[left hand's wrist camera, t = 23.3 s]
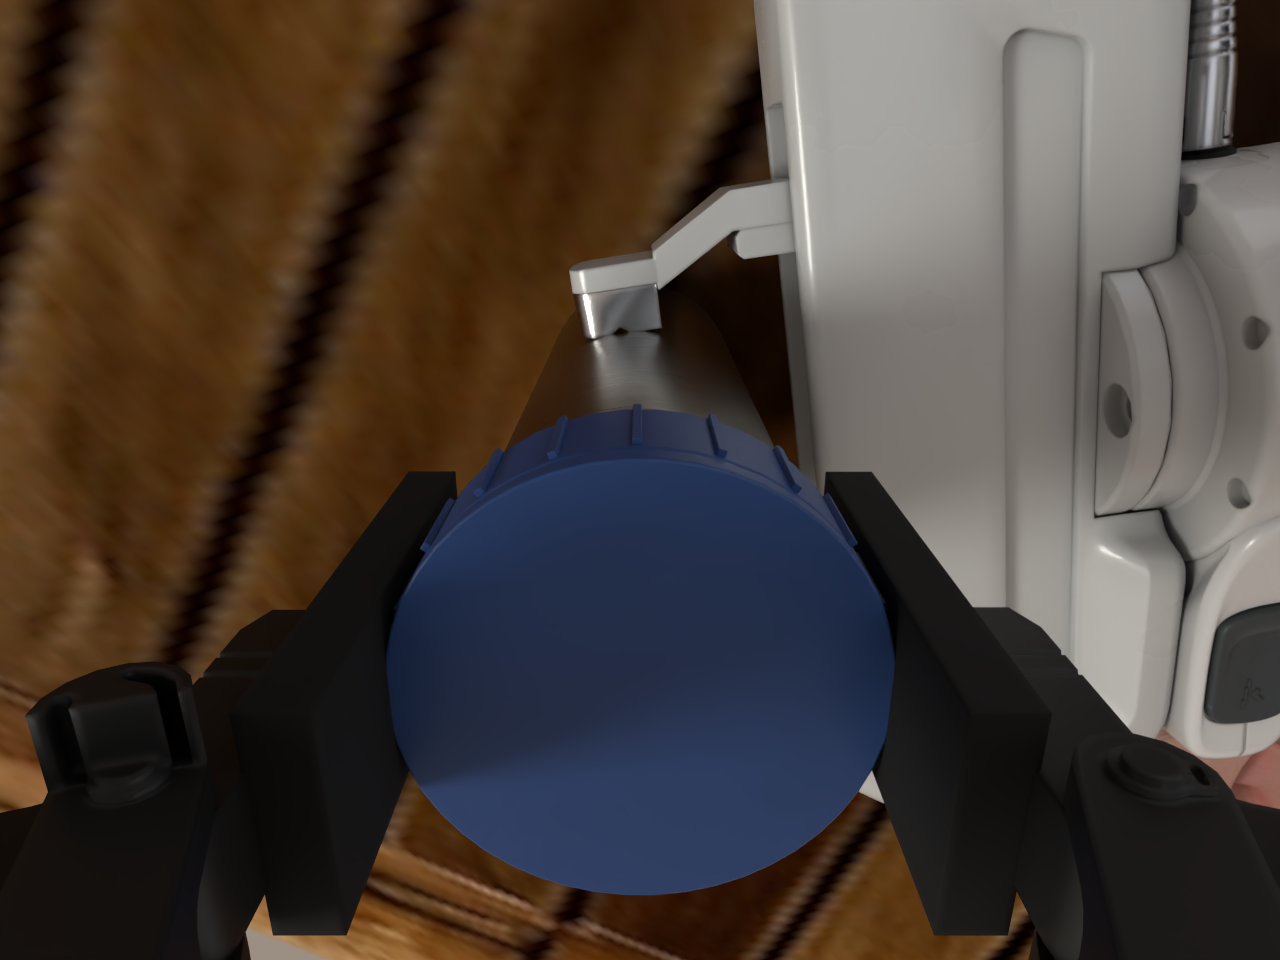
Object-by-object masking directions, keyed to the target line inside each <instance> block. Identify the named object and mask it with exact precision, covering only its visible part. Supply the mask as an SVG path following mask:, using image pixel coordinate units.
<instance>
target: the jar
mask: <svg viewBox="0 0 1280 960" xmlns="http://www.w3.org/2000/svg"><path fill="white" fill-rule="evenodd" d="M657 293H658V301H659V308H660V316H661V324H662V328H658V329H652V330H646V331H634V332H629V331H627V330H625V329H623V328H621V327H619V328H618V329H617V330H616V331H615V332H614V333H613V334H611V335H608V336H605V337H600V338H583V337H582V336H581V331H580V326H579V321H578V316H577V311H575V312H574V314H573V315H572V316H571V317H570V318H569V320H568V321H567V323H566V324H565V325H564V327H563V329H562V331H561V333H560V335H559V337H558V339H557V341H556V343H555V345H554V347H553V349H552V352H551V354H550V356H549V358H548V360H547V362H546V364H545V366H544V369H543V371H542V373H541V375H540V377H539V379H538V381H537V384H536V386H535V388H534V390H533V392H532V394H531V396H530V398H529V401H528V403H527V405H526V407H525V409H524V411H523V413H522V416H521V418H520V420H519V422H518V424H517V426H516V428H515V430H514V433H513V435H512V437H511V439H510V441H509V443H508V445H507V448H506V450H507V449H508V448H510V447H511V446H513V445H515V444H517V443H518V442H520V441H522V440H524V439H526V438H527V437H529V436H531V435H533V434H534V433H536V432H539V431H541V430H544V429H546V428H548V427H551V426H553V425H556V423H557V420H558V418H559V417H562V416H566V417H567V420H571V419H574V418H578V417H582V416H586V415H590V414H594V413H601V412H609V411H617V410H624V409H633V404H641V405H642V409H657V410H665V411H672V412H680V413H688V414H691V415H695V416H699V417H703V418H707V419H708V416H709V414H713V415H716V416H717V418H718V421H719V422H720V423H723V424H725V425H728V426H730V427H733V428H735V429H738V430H740V431H743V432H745V433H747V434H749V435H750V436H752V437H754V438H756V439H757V440H759V441H761V442H763V443H764V444H766V445H768V446H770V447H771V448H773V449H774V445H773V443H772V441H771V439H770V437H769V435H768V432H767V430H766V428H765V426H764V424H763V422H762V420H761V418H760V416H759V413H758V411H757V409H756V407H755V405H754V403H753V401H752V399H751V396H750V394H749V392H748V390H747V388H746V386H745V384H744V382H743V379H742V377H741V375H740V373H739V371H738V369H737V367H736V365H735V362H734V360H733V358H732V356H731V354H730V352H729V350H728V348H727V345H726V343H725V341H724V339H723V337H722V335H721V333H720V331H719V329H718V328H717V326H716V324H715V323H714V321H713V320H712V319H711V317H710V316H709V315H708V314H707V313H706V312H705V311H704V310H703V309H702V308H701V307H700V306H699V305H698V304H697V303H695V302H694V301H693V300H691V299H690V298H688V297H687V296H685V295H683V294H681V293H680V292H677V291H675V290H672V289H670V288H666V287H662V288H661V289H658V286H657ZM506 450H505V451H506Z"/></svg>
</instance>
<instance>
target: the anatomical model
mask: <svg viewBox="0 0 1280 960" xmlns="http://www.w3.org/2000/svg"><path fill="white" fill-rule="evenodd" d="M1156 739H1157V740H1161V741H1165V742H1167V743H1169V744H1171V745H1173V746H1176V747H1178V748H1180V749H1182V750H1184V751H1186V752H1189V753H1191V752H1190V751H1189V750H1187V749H1186V748H1185V747H1184V746H1183V745H1181V744H1180V743H1179V742H1178V741H1177V740H1176V739H1175V738H1173V737H1172V736H1171V735H1170V734H1169V733H1168V732H1167V731H1165V730H1164V729H1163V728H1162V729H1161V731H1160V733H1159V735H1158V736H1157V738H1156ZM1191 754H1192V753H1191ZM1193 755H1194V754H1193ZM1195 756H1196V755H1195ZM1196 757H1197V758H1199V759H1200V760H1201V761H1203V762H1204V763H1206V764H1207V765H1208V766H1210V767H1211V768H1212V769H1214V770H1215V771H1217V772H1218V774H1219V775H1220V776H1221V777H1222V779H1223V780H1224V781H1225V783H1226V784H1227V785H1228V786H1229V788H1230V789H1231V790H1232V792H1233V794H1234V796H1235V798H1236V799H1238V800H1242V801H1245V802H1249V803H1253V804H1258V805H1263V806H1267V807H1272V808H1277V809H1280V738H1279V739H1278V740H1277V741H1276V742H1275V743H1274V744H1273V745H1271V746H1270V747H1268V748H1267V749H1265V750H1263V751H1261V752H1258V753H1255V754H1252V755H1247V756H1242V757H1235V758H1225V759H1207V758H1201V757H1198V756H1196Z"/></svg>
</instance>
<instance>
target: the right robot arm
mask: <svg viewBox="0 0 1280 960" xmlns="http://www.w3.org/2000/svg"><path fill="white" fill-rule="evenodd" d="M1237 1H1238V0H754V10H755V20H756V31H757V41H758V52H759V62H760V72H761V83H762V93H763V104H764V114H765V125H766V135H767V145H768V156H769V166H770V177H771V179H768V180H762V181H756V182H750V183H744V184H739V185H733V186H727V187H721V188H719V189H718V190H716V191H715V192H714V193H713V194H712V195H710V196H709V197H708V198H707V199H706V200H704V201H703V202H702V203H701V204H700V205H698V206H697V207H696V208H695V209H694V210H692V211H691V212H690V213H689V214H688V215H686V216H685V217H684V218H683V219H681V220H680V221H679V222H678V223H677V224H675V225H674V226H673V227H672V228H671V229H669V230H668V231H667V232H666V233H665V234H663V235H662V236H661V237H660V238H659V239H657V240H656V241H655V242H654V243H653V244H651V246H652V250H650V251H644V252H638V253H632V254H625V255H619V256H613V257H607V258H601V259H594V260H589V261H586V262H582V263H578V264H574V265H572V267H571V268H570V270H569V272H570V278H571V285H572V291H573V295H574V300H575V306H576V311H577V316H578V321H579V326H580V331H581V336H582V337H583V338H600V337H605V336H608V335H611V334H613V333H614V332H615V331H616V330H617V329H618V328H619V327H621V328H623V329H625V330H627V331H629V332H634V331H646V330H652V329H658V328H662V324H661V316H660V308H659V301H658V293H657V286H658V289H661V288H662V287H663V286H665V285H666V284H667V283H668V282H670V281H671V280H672V279H673V278H675V277H676V276H677V275H679V274H680V273H681V272H682V271H684V270H685V269H686V268H687V267H689V266H690V265H691V264H692V263H694V262H695V261H696V260H697V259H699V258H700V257H701V256H702V255H704V254H705V253H706V252H707V251H709V250H710V249H711V248H713V247H714V246H715V245H716V244H718V243H719V242H720V241H721V240H723V239H724V238H725V237H726V236H727V242H728V245H729V246H730V247H731V248H732V249H733V250H734V251H735V252H736V253H737V254H738V255H739V256H740V257H742V258H743V259H748V258H755V257H762V256H770V255H777V254H778V260H779V271H780V281H781V291H782V302H783V312H784V323H785V333H786V344H787V354H788V364H789V375H790V385H791V396H792V406H793V417H794V427H795V437H796V448H797V458H798V469H799V470H800V471H801V472H802V473H803V474H804V475H805V476H806V477H807V478H808V479H809V480H810V481H811V482H812V483H813V484H814V486H815V487H816V488H817V490H818V491H819V492H820V494H821V495H822V496H824V486H825V473H826V472H872V473H873V474H874V475H875V477H876V478H877V479H878V481H879V482H880V483H881V485H882V486H883V487H884V489H885V490H886V491H887V493H888V494H889V495H890V497H891V498H892V499H893V501H894V502H895V503H896V505H897V506H898V507H899V509H900V510H901V511H902V513H903V514H904V515H905V517H906V518H907V519H908V521H909V522H910V523H911V525H912V526H913V528H914V529H915V530H916V532H917V533H918V534H919V536H920V537H921V538H922V540H923V541H924V542H925V544H926V545H927V546H928V548H929V549H930V550H931V552H932V553H933V554H934V556H935V557H936V558H937V560H938V561H939V562H940V564H941V565H942V566H943V568H944V569H945V570H946V572H947V573H948V574H949V576H950V577H951V578H952V580H953V581H954V582H955V584H956V585H957V586H958V588H959V589H960V590H961V592H962V593H963V594H964V596H965V597H966V598H967V600H968V601H969V602H970V604H971V605H972V607H1009V608H1011V609H1012V610H1014V611H1016V612H1017V613H1019V614H1020V615H1022V616H1024V617H1025V618H1027V619H1029V620H1030V621H1032V622H1034V623H1035V624H1037V625H1039V626H1040V627H1042V629H1043V630H1044V631H1045V632H1046V633H1047V634H1048V636H1049V637H1050V638H1051V639H1052V640H1053V641H1054V643H1055V644H1056V645H1057V646H1058V647H1059V648H1060V649H1061V654H1062V655H1066V656H1067V658H1068V659H1069V660H1070V661H1071V662H1072V663H1073V665H1074V666H1075V667H1076V668H1077V669H1078V675H1083V676H1084V677H1085V678H1086V680H1087V681H1088V682H1089V683H1090V684H1091V685H1092V687H1093V688H1094V689H1095V690H1096V691H1097V692H1098V694H1099V695H1100V696H1101V697H1102V698H1103V699H1104V701H1105V702H1106V703H1107V704H1108V705H1109V706H1110V707H1111V709H1112V710H1113V711H1114V712H1115V713H1116V714H1117V716H1118V717H1119V718H1120V719H1121V720H1122V721H1123V723H1124V724H1125V725H1126V726H1127V727H1128V728H1129V730H1130V731H1131V732H1132V733H1133V734H1138V735H1142V736H1146V737H1150V738H1153V739H1156V738H1157V736H1158V735H1159V733H1160V731H1161V729H1162V728H1163V729H1164V730H1165V731H1167V732H1168V733H1169V734H1170V735H1171V736H1172V737H1173V738H1175V739H1176V740H1177V741H1178V742H1179V743H1180V744H1181V745H1183V746H1184V747H1185V748H1186V749H1187V750H1189V751H1190V752H1191V753H1192V754H1194V755H1196V756H1198V757H1201V758H1207V759H1225V758H1235V757H1242V756H1247V755H1252V754H1255V753H1258V752H1261V751H1263V750H1265V749H1267V748H1268V747H1270V746H1271V745H1273V744H1274V743H1275V742H1276V741H1277V740H1278V739H1279V738H1280V142H1276V143H1270V144H1264V145H1258V146H1251V147H1243V148H1232V141H1233V129H1234V118H1235V105H1236V93H1237V80H1238V51H1236V48H1237V47H1238V40H1237V36H1235V33H1236V32H1237V21H1234V20H1235V18H1236V17H1237V6H1236V5H1235V3H1236V2H1237ZM656 283H657V285H656ZM859 792H860V793H862V794H865V795H867V796H869V797H871V798H873V799H875V800H877V801H880V802H882V803H884V801H883V799H882V796H881V793H880V791H879V788H878V785H877V783H876V780H875V777H874V775H873V772H872V771H871V773H870V774H869V776H868V777H867V779H866V781H865V782H864V784H863V785H862V787H861V789H860V790H859Z"/></svg>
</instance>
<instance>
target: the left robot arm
mask: <svg viewBox="0 0 1280 960" xmlns="http://www.w3.org/2000/svg"><path fill="white" fill-rule="evenodd" d="M827 493H828V494H829V495H830V496H831V498H832V499H833V501H834V503H835V505H836V506H837V508H838V510H839V512H840V513H841V515H842V517H843V519H844V520H845V522H846V524H847V526H848V527H849V529H850V531H851V533H852V534H853V536H854V538H855V540H856V541H857V544H856V545H855V546H853V549H854V550H855V552H858V553H859V555H860V557H861V559H862V561H863V562H864V564H865V566H866V568H867V570H868V571H869V573H870V575H871V577H872V578H873V580H874V582H875V584H876V586H877V587H878V589H879V591H880V593H881V595H882V596H883V598H884V600H885V602H886V604H887V608H888V610H885V612H886V615H887V618H888V621H889V623H890V626H891V631H892V637H893V642H894V647H895V654H896V658H895V668H894V678H893V686H892V694H891V702H890V711H889V719H888V727H887V734H886V741H885V743H884V746H883V748H882V750H881V752H880V755H879V757H878V759H877V761H876V764H875V766H874V768H873V769H872V772H873V775H874V777H875V780H876V783H877V785H878V788H879V791H880V793H881V796H882V799H883V801H884V804H885V806H886V809H887V812H888V814H889V817H890V820H891V822H892V825H893V828H894V830H895V833H896V835H897V838H898V841H899V843H900V846H901V849H902V851H903V854H904V856H905V859H906V862H907V864H908V867H909V870H910V872H911V875H912V878H913V880H914V883H915V885H916V888H917V891H918V893H919V896H920V899H921V901H922V904H923V907H924V909H925V912H926V914H927V917H928V920H929V922H930V925H931V928H932V930H933V933H934V935H1008V932H1009V927H1010V922H1011V917H1012V912H1013V907H1014V902H1015V897H1016V892H1017V893H1018V894H1019V896H1020V898H1021V900H1022V902H1023V904H1024V906H1025V908H1026V910H1027V912H1028V914H1029V916H1030V918H1031V920H1032V922H1033V924H1034V925H1035V932H1034V937H1033V941H1032V946H1031V951H1030V955H1029V960H1280V809H1277V808H1272V807H1267V806H1263V805H1258V804H1253V803H1249V802H1245V801H1242V800H1238V799H1236V798H1235V796H1234V794H1233V792H1232V790H1231V789H1230V788H1229V786H1228V785H1227V784H1226V783H1225V781H1224V780H1223V779H1222V777H1221V776H1220V775H1219V774H1218V772H1217V771H1215V770H1214V769H1212V768H1211V767H1210V766H1208V765H1207V764H1206V763H1204V762H1203V761H1201V760H1200V759H1199V758H1197V757H1196V756H1195V755H1193V754H1191V753H1189V752H1186V751H1184V750H1182V749H1180V748H1178V747H1176V746H1173V745H1171V744H1169V743H1167V742H1165V741H1161V740H1157V739H1153V738H1150V737H1146V736H1142V735H1138V734H1133V733H1132V732H1131V731H1130V730H1129V728H1128V727H1127V726H1126V725H1125V724H1124V723H1123V721H1122V720H1121V719H1120V718H1119V717H1118V716H1117V714H1116V713H1115V712H1114V711H1113V710H1112V709H1111V707H1110V706H1109V705H1108V704H1107V703H1106V702H1105V701H1104V699H1103V698H1102V697H1101V696H1100V695H1099V694H1098V692H1097V691H1096V690H1095V689H1094V688H1093V687H1092V685H1091V684H1090V683H1089V682H1088V681H1087V680H1086V678H1085V677H1084V676H1083V675H1078V669H1077V668H1076V667H1075V666H1074V665H1073V663H1072V662H1071V661H1070V660H1069V659H1068V658H1067V656H1066V655H1062V654H1061V649H1060V648H1059V647H1058V646H1057V645H1056V644H1055V643H1054V641H1053V640H1052V639H1051V638H1050V637H1049V636H1048V634H1047V633H1046V632H1045V631H1044V630H1043V629H1042V627H1040V626H1039V625H1037V624H1035V623H1034V622H1032V621H1030V620H1029V619H1027V618H1025V617H1024V616H1022V615H1020V614H1019V613H1017V612H1016V611H1014V610H1012V609H1011V608H1009V607H972V605H971V604H970V602H969V601H968V600H967V598H966V597H965V596H964V594H963V593H962V592H961V590H960V589H959V588H958V586H957V585H956V584H955V582H954V581H953V580H952V578H951V577H950V576H949V574H948V573H947V572H946V570H945V569H944V568H943V566H942V565H941V564H940V562H939V561H938V560H937V558H936V557H935V556H934V554H933V553H932V552H931V550H930V549H929V548H928V546H927V545H926V544H925V542H924V541H923V540H922V538H921V537H920V536H919V534H918V533H917V532H916V530H915V529H914V528H913V526H912V525H911V523H910V522H909V521H908V519H907V518H906V517H905V515H904V514H903V513H902V511H901V510H900V509H899V507H898V506H897V505H896V503H895V502H894V501H893V499H892V498H891V497H890V495H889V494H888V493H887V491H886V490H885V489H884V487H883V486H882V485H881V483H880V482H879V481H878V479H877V478H876V477H875V475H874V474H873V473H872V472H826V473H825V486H824V495H826V494H827ZM449 498H451V499H453V500H454V501H455V500H456V499H457V488H456V475H455V472H408V474H407V475H406V476H405V478H404V479H403V480H402V482H401V483H400V484H399V486H398V487H397V489H396V490H395V491H394V493H393V494H392V495H391V497H390V498H389V499H388V501H387V502H386V503H385V505H384V506H383V507H382V509H381V510H380V511H379V513H378V514H377V515H376V517H375V518H374V519H373V521H372V522H371V523H370V525H369V526H368V527H367V529H366V530H365V531H364V533H363V534H362V535H361V537H360V538H359V539H358V541H357V542H356V543H355V545H354V546H353V547H352V549H351V550H350V551H349V553H348V554H347V555H346V557H345V558H344V560H343V561H342V562H341V564H340V565H339V566H338V568H337V569H336V570H335V572H334V573H333V574H332V576H331V577H330V578H329V580H328V581H327V582H326V584H325V585H324V586H323V588H322V589H321V590H320V592H319V593H318V594H317V596H316V597H315V598H314V600H313V601H312V602H311V604H310V605H309V606H308V608H307V609H306V610H272V611H270V612H269V613H267V614H265V615H264V616H262V617H261V618H259V619H257V620H256V621H254V622H252V623H251V624H249V625H247V626H246V627H244V628H243V629H241V630H240V631H239V632H238V633H237V634H236V635H235V637H234V638H233V639H232V640H231V641H230V642H229V644H228V645H227V646H226V647H225V648H224V649H223V651H222V652H221V653H220V658H216V659H215V660H214V661H213V662H212V664H211V665H210V666H209V667H208V668H207V669H206V671H205V672H204V676H203V678H199V679H198V680H197V681H196V682H195V683H194V685H192V680H191V675H190V674H188V673H187V672H186V671H184V670H183V669H181V668H180V667H179V666H177V665H171V664H166V663H160V662H141V663H127V664H123V665H118V666H114V667H110V668H105V669H101V670H97V671H94V672H92V673H89V674H87V675H84V676H82V677H79V678H77V679H74V680H72V681H69V682H67V683H65V684H63V685H62V686H60V687H59V688H57V689H55V690H54V691H52V692H51V693H49V694H47V695H46V696H44V697H43V698H41V699H40V700H39V701H38V702H37V703H36V705H35V706H34V707H33V708H32V709H31V710H30V711H29V712H28V713H27V714H26V715H25V716H26V719H27V723H28V726H29V729H30V733H31V736H32V739H33V743H34V746H35V749H36V753H37V756H38V759H39V763H40V766H41V770H42V773H43V776H44V780H45V783H46V786H47V790H48V793H47V796H46V798H45V800H44V802H43V803H42V804H39V805H35V806H31V807H27V808H22V809H17V810H12V811H7V812H3V813H0V960H251V958H250V951H249V946H248V941H247V937H246V930H247V928H248V926H249V924H250V922H251V920H252V918H253V916H254V914H255V912H256V910H257V908H258V906H259V904H260V903H261V901H262V899H263V897H264V895H265V897H266V902H267V907H268V912H269V917H270V922H271V927H272V932H273V935H347V933H348V930H349V927H350V925H351V922H352V919H353V917H354V914H355V911H356V909H357V906H358V904H359V901H360V898H361V896H362V893H363V890H364V888H365V885H366V882H367V880H368V877H369V875H370V872H371V869H372V867H373V864H374V861H375V859H376V856H377V853H378V851H379V848H380V846H381V843H382V840H383V838H384V835H385V832H386V830H387V827H388V824H389V822H390V819H391V817H392V814H393V811H394V809H395V806H396V803H397V801H398V798H399V795H400V793H401V790H402V788H403V785H404V782H405V780H406V777H407V774H408V772H409V769H408V767H407V765H406V763H405V761H404V759H403V756H402V754H401V752H400V750H399V747H398V745H397V743H396V740H395V735H394V728H393V720H392V712H391V704H390V696H389V687H388V679H387V669H386V649H387V644H388V638H389V633H390V628H391V624H392V622H393V619H394V616H393V609H394V607H395V605H396V603H397V602H398V600H399V598H400V596H401V594H402V592H403V591H404V589H405V587H406V585H407V583H408V582H409V580H410V578H411V576H412V574H413V573H414V571H415V569H416V567H417V565H418V563H419V562H420V560H421V558H422V557H423V556H424V555H425V553H426V552H424V551H423V550H421V549H420V548H421V546H422V544H423V543H424V541H425V539H426V537H427V536H428V534H429V532H430V530H431V529H432V527H433V525H434V523H435V522H436V520H437V518H438V516H439V515H440V513H441V511H442V509H443V508H444V506H445V504H446V502H447V501H448V499H449Z"/></svg>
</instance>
